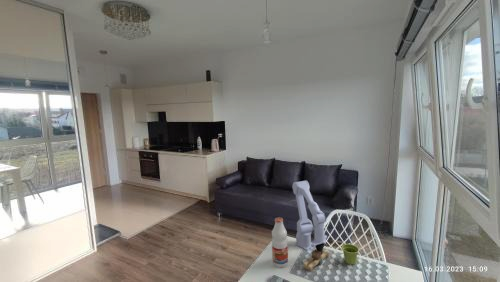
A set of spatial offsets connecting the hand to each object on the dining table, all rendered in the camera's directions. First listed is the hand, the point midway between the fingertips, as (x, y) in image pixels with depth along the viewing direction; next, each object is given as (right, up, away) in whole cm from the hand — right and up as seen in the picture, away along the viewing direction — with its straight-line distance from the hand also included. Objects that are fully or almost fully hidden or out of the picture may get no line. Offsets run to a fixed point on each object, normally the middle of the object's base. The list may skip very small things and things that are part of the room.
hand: (319, 253), depth 141 cm
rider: (-2, -2, -2) cm, 4 cm away
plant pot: (+18, -4, -3) cm, 18 cm away
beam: (-2, -4, -2) cm, 5 cm away
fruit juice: (-24, -5, -1) cm, 25 cm away
